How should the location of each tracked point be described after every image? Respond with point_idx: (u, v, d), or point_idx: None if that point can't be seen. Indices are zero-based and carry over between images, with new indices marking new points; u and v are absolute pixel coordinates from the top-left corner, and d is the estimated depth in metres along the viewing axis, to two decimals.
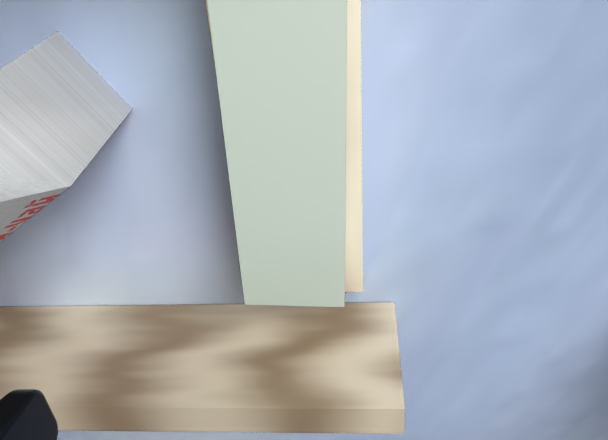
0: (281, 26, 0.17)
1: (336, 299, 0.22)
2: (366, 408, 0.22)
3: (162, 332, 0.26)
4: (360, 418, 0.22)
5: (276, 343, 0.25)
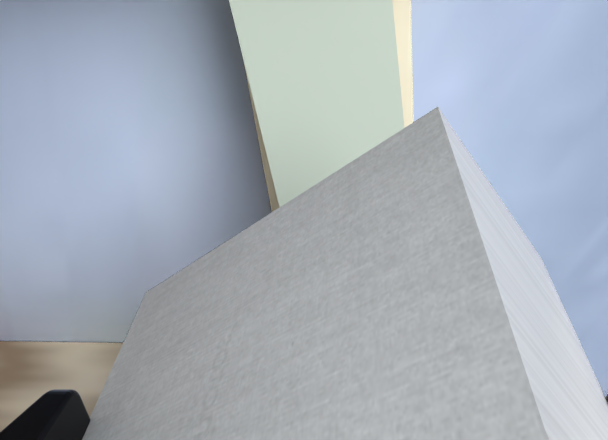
0: (326, 70, 0.15)
1: None
2: None
3: None
4: None
5: None
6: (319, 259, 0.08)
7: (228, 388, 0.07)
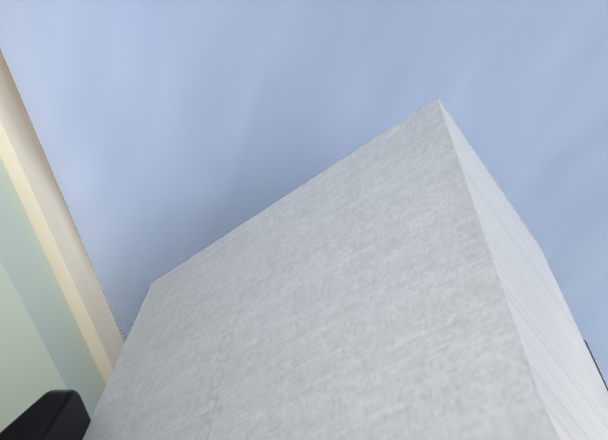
0: None
1: None
2: None
3: None
4: None
5: None
6: (322, 245, 0.08)
7: (235, 369, 0.07)
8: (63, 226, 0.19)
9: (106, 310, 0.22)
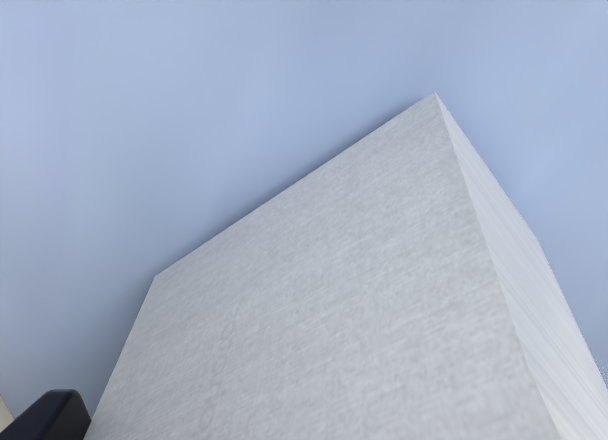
0: None
1: None
2: None
3: None
4: None
5: None
6: (322, 235, 0.08)
7: (237, 355, 0.08)
8: None
9: None
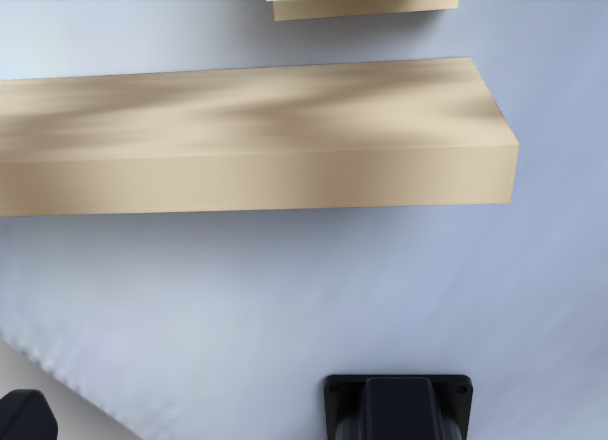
0: None
1: None
2: (451, 146, 0.13)
3: (114, 95, 0.17)
4: (439, 170, 0.13)
5: (291, 97, 0.16)
6: None
7: None
8: None
9: None
